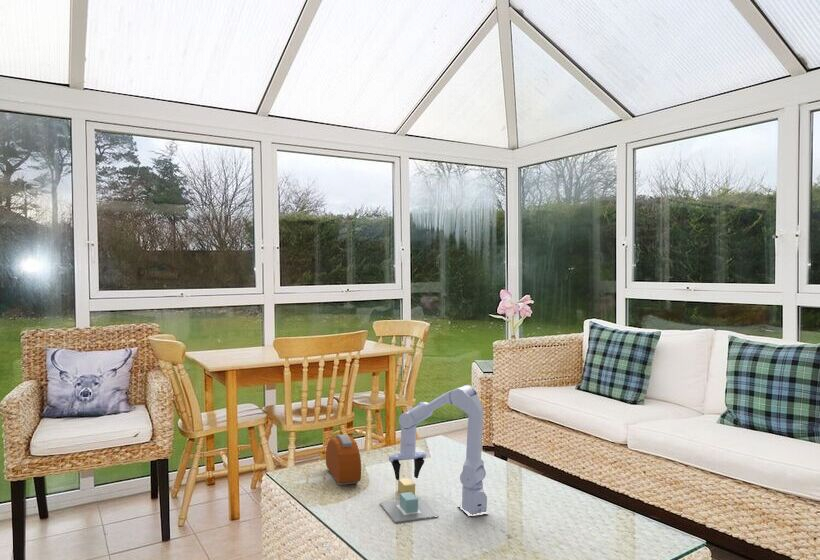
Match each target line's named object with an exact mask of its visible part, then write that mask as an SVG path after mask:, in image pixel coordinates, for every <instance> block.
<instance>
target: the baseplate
mask: <svg viewBox="0 0 820 560" xmlns="http://www.w3.org/2000/svg"><path fill="white" fill-rule="evenodd" d="M417 498H418V512H412V513H405V511H404V510H403V509H402V508H401V507H400V499H399V500H391V501H390V500H389V501H383V502H379V505H380V506H381V508H382V509H383V510H384V512H385V513H386V515H388V517H389V518H390V519H391V520H392V522H393V523H394V524H401V523H408V522H414V521H415V522H416V521H421V519H423V520H426V519H425V518H430V517H435V516H438V517H439V515H438V514H437V513H436V511H435V510H434V509H432V507H431V506H430V505H429V504H428V503H427V502H426V501H425V500H424V499H423V498H422V497H417Z"/></svg>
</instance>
